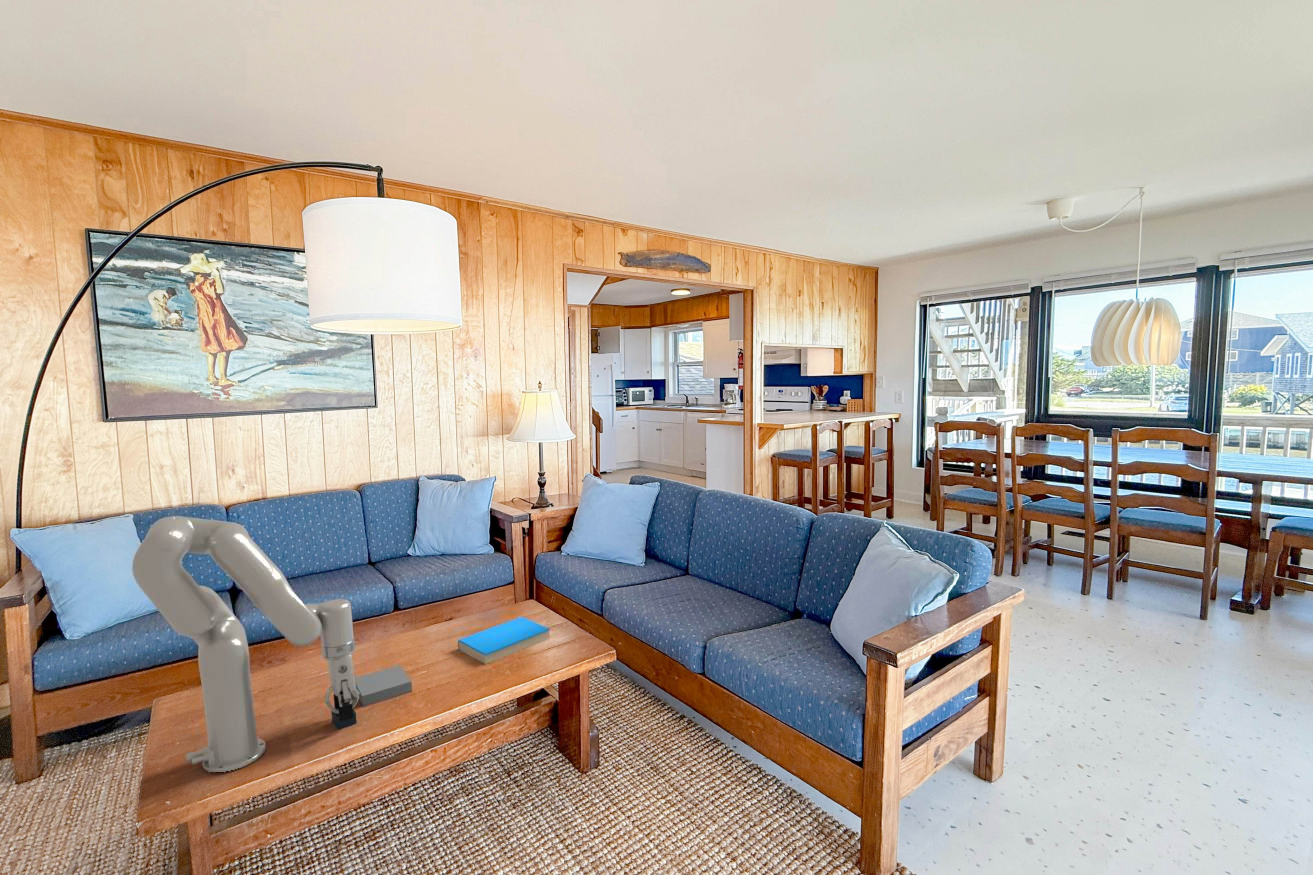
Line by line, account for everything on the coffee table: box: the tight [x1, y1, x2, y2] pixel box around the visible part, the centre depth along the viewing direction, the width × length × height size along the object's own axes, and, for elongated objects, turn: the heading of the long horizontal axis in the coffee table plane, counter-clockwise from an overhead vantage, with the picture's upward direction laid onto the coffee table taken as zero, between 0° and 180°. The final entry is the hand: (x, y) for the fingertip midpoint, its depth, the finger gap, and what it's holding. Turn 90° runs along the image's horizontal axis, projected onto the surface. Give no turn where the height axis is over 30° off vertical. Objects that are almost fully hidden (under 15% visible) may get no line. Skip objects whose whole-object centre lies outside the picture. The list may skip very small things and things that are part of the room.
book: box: [457, 616, 551, 665], centre depth 209 cm, size 17×4×25 cm
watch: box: [324, 686, 360, 731], centre depth 163 cm, size 6×8×11 cm
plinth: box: [355, 664, 413, 707], centre depth 180 cm, size 13×13×3 cm
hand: (343, 712), depth 164 cm, fingers open, 6 cm apart
